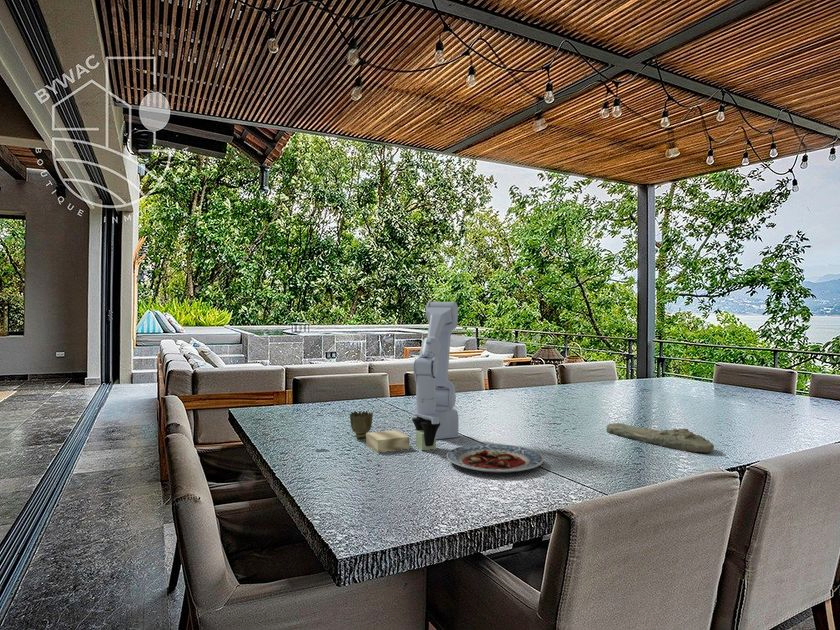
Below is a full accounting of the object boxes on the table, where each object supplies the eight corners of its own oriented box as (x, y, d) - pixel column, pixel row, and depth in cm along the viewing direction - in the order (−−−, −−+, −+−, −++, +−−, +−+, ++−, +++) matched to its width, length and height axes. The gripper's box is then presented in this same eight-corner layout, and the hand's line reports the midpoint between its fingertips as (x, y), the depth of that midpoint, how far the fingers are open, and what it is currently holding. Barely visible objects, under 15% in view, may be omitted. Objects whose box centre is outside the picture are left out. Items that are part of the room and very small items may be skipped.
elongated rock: (618, 433, 183) (599, 439, 177) (616, 418, 183) (598, 423, 177) (721, 450, 154) (703, 457, 148) (720, 432, 154) (702, 438, 148)
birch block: (396, 442, 165) (396, 429, 165) (409, 450, 156) (409, 436, 156) (366, 446, 161) (366, 433, 161) (377, 454, 152) (377, 440, 152)
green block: (429, 445, 160) (429, 429, 160) (435, 449, 156) (435, 432, 156) (415, 447, 158) (415, 430, 158) (421, 451, 154) (421, 433, 154)
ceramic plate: (522, 486, 124) (522, 473, 124) (428, 468, 138) (428, 457, 138) (556, 459, 146) (556, 449, 146) (472, 447, 160) (472, 437, 160)
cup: (368, 441, 166) (368, 415, 165) (346, 440, 167) (346, 414, 167) (375, 435, 173) (375, 411, 173) (354, 434, 174) (354, 410, 174)
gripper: (404, 395, 162) (404, 439, 162) (423, 402, 149) (423, 450, 149) (425, 393, 165) (425, 437, 165) (445, 401, 151) (445, 448, 151)
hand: (425, 443), depth 157 cm, fingers closed on green block, 4 cm apart
